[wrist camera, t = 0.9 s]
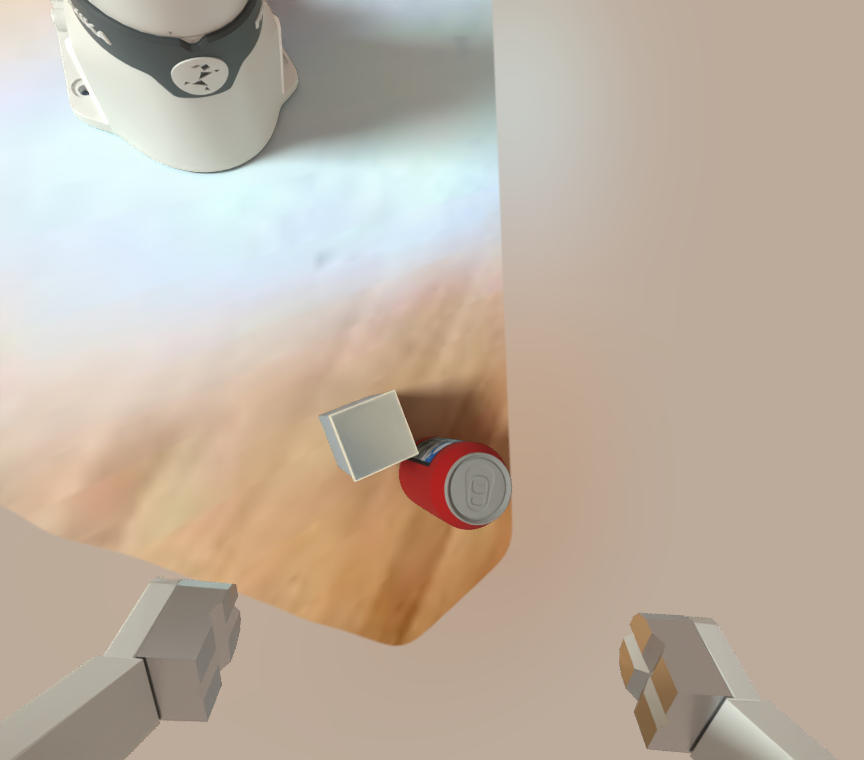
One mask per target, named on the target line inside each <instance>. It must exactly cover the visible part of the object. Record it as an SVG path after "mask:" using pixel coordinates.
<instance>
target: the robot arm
mask: <svg viewBox="0 0 864 760" xmlns="http://www.w3.org/2000/svg"><path fill="white" fill-rule="evenodd" d="M50 1H52V2H53V8H51V15H52V18H53V21H54V24H55V26H56V28H57V32H58V38H59V43H60V49H61V55H62V61H63V67H64V73H65V79H66V85H67V91H68V97H69V102H70V106H71V108H72V110H73V112H74V114H75V116H76V117H77V118H78V119H79V120H80V121H82V122H84V123H86V124H88V125H90V126H93V127H95V128H98V129H101V130H104V131H107V132H111V133H114V134H116V135H117V136H119V137H121V138H122V139H124V140H125V141H127V142H128V143H129V144H130V145H132V146H133V147H134V148H136V149H137V150H138V151H140V152H141V153H143V154H144V155H146V156H148V157H149V158H151V159H153V160H155V161H157V162H160V163H162V164H164V165H167V166H170V167H173V168H177V169H181V170H186V171H193V172H215V171H222V170H226V169H230V168H233V167H236V166H238V165H241V164H243V163H245V162H247V161H248V160H250V159H251V158H253V157H254V156H255V155H257V154H258V153H259V152H260V151H261V150H262V149H263V148H264V146H265V145H266V144H267V143H268V141H269V140H270V138H271V136H272V134H273V132H274V130H275V127H276V123H277V120H278V116H279V112H280V109H281V107H282V105H283V104H284V103H285V102H286V101H287V99H288V98H289V97H290V96H291V95H292V94H293V93H294V91H295V90H296V88H297V86H298V74H297V71H296V68H295V67H294V65H293V63H292V62H291V60H290V58H289V57H288V55H287V53H286V52H285V50H284V48H283V46H282V38H281V26H280V21H279V18H278V17H277V16H275V15H273V13H272V11H271V9H270V7H269V5H268V4H267V2H266V1H265V0H50ZM84 91H88V92H89V95H82V92H84ZM237 597H238V593H237V587H236V584H227V583H217V582H207V581H197V580H186V579H176V578H163V577H156V578H155V579H154V580H153V581H152V582H151V583H150V584H149V585H148V586H147V588H146V590H145V591H144V593H143V594H142V596H141V597H140V599H139V601H138V602H137V604H136V605H135V607H134V609H133V610H132V612H131V613H130V615H129V616H128V618H127V619H126V621H125V623H124V624H123V626H122V627H121V629H120V630H119V632H118V634H117V635H116V637H115V638H114V640H113V642H112V643H111V645H110V646H109V648H108V649H107V651H106V653H105V654H104V656H94V657H93V658H91V659H89V660H88V661H87V662H85V663H84V664H82V665H81V666H79V667H78V668H77V669H75V670H74V671H73V672H71V673H69V674H68V675H67V676H65V677H64V678H62V679H61V680H60V681H58V682H57V683H55V684H54V685H52V686H51V687H49V688H48V689H47V690H45V691H44V692H42V693H41V694H40V695H38V696H37V697H35V698H34V699H32V700H31V701H30V702H28V703H27V704H25V705H24V706H22V707H21V708H20V709H18V710H17V711H15V712H14V713H12V714H11V715H10V716H8V717H7V718H5V719H4V720H3V721H1V722H0V760H124V759H125V758H126V757H127V756H128V755H129V754H130V753H131V752H132V751H133V750H134V749H135V748H136V747H137V746H138V745H139V744H140V743H141V742H142V741H143V740H144V739H145V738H146V737H147V736H148V735H149V734H150V733H151V732H152V731H153V730H154V729H155V728H156V727H157V726H158V725H159V724H160V721H159V720H168V721H171V720H172V721H200V722H201V721H202V722H207V721H208V719H209V716H210V714H211V711H212V709H213V706H214V703H215V701H216V698H217V696H218V693H219V691H220V688H221V686H222V685H221V684H222V683H221V676H220V671H221V670H222V669H223V668H224V667H225V666H226V665H227V664H229V663H230V662H231V659H232V657H233V654H234V651H235V649H236V645H237V641H238V637H239V632H240V621H241V618H240V611H239V610H238V609H237V608H236V607H235V606H234V604H235V602H236V599H237ZM630 626H631V628H632V631H633V633H631V634H630V635H628V636H627V637H625V638H624V639H623V642H622V645H621V647H620V659H619V664H620V670H621V675H622V678H623V681H624V684H625V687H626V689H627V690H628V691H629V692H630V693H631V694H632V695H633V696H634V697H635V698H636V700H637V704H636V707H635V710H634V714H635V717H636V719H637V722H638V725H639V728H640V731H641V734H642V736H643V740H644V742H645V745H646V748H647V749H651V750H662V751H673V752H684V753H691V755H690V756H691V758H692V759H693V760H838V759H837V758H836V757H835V756H833V755H832V754H831V753H830V752H829V751H828V750H826V749H825V748H824V747H823V746H822V745H821V744H819V743H818V742H817V741H816V740H815V739H813V738H812V737H811V736H810V735H809V734H807V733H806V732H805V731H804V730H803V729H802V728H801V727H799V726H798V725H797V724H796V723H795V722H794V721H792V720H791V719H790V718H789V717H788V716H787V715H785V714H784V713H783V712H782V711H781V710H779V709H778V708H777V707H776V706H775V705H773V703H771V702H770V701H766V700H761V698H760V696H759V695H758V693H757V691H756V689H755V688H754V686H753V684H752V682H751V681H750V679H749V677H748V676H747V674H746V672H745V671H744V669H743V667H742V665H741V663H740V662H739V660H738V658H737V657H736V655H735V653H734V651H733V650H732V648H731V646H730V645H729V643H728V641H727V640H726V638H725V636H724V634H723V633H722V631H721V629H720V628H719V626H718V624H717V623H716V622H715V621H714V620H713V619H711V618H702V617H701V618H700V617H685V616H681V615H665V614H648V613H638V614H636V615H635V616H633V619H632V621H631V623H630Z"/></svg>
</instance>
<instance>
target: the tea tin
mask: <svg viewBox="0 0 864 760" xmlns="http://www.w3.org/2000/svg"><path fill="white" fill-rule="evenodd" d="M319 418H320V421H321V424H322V426H323V429H324V431H325V434H326V436H327V439H328V442H329V444H330V447H331V449H332V452H333V454H334V457H335V460H336V462H337V465H338V467H340V468H341V469H342V470H344V471H345V472H346V473H347V474H349V475H350V476H351V477H352V478H353V481H355V482H356V481H359V480H361V479H363V478H365V477H368V476H370V475H372V474H374V473H377V472H379V471H381V470H383V469H386V468H388V467H390V466H392V465H395V464H397V463H399V462H401V461H404V460H406V459H408V458H410V457H413V456H415V455H417V454H419V452H418V450H417V447H416V445H415V442H414V439H413V437H412V434H411V431H410V429H409V426H408V423H407V421H406V418H405V416H404V413H403V410H402V408H401V405H400V402H399V400H398V397H397V395H396V392H395V390H392V391H389V392H387V393H383V394H378V395H372V396H368V397H365V398H363V399H360V400H358V401H355V402H353V403H350V404H347V405H345V406H342V407H340V408H337V409H334V410H332V411H329V412H327V413H324V414H322V415H319Z"/></svg>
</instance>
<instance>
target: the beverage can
mask: <svg viewBox="0 0 864 760" xmlns="http://www.w3.org/2000/svg"><path fill="white" fill-rule="evenodd" d="M415 445H416V447H417V450H418V452H419V454H417V455H415V456H413V457H410V458H408V459H406V460H404V461H401V464H400V468H399V479H400V483H401V486H402V489H403V491H404V493H405V494H406V495H407V497H408V498H409V499H410V500H412V501H413V502H414V503H416V504H417V505H419V506H420V507H422V508H423V509H425V510H426V511H428V512H430V513H431V514H433V515H434V516H436V517H438V518H439V519H441V520H443V521H445V522H446V523H448V524H450V525H452V526H454V527H456V528H459V529H465V530H472V529H478V528H481V527H483V526H486V525H488V524H489V523H491V522H492V521H494V520H495V519H497V518H498V517H499V516H500V515H501V514H502V513H503V512H504V511H505V509H506V507H507V506H508V504H509V501H510V498H511V492H512V483H511V478H510V475H509V472H508V469H507V467H506V465H505V463H504V461H503V460H502V458H501V457H500V456H499V454H498V453H497V452H496V451H494V450H493V449H492V448H490V447H488V446H486V445H484V444H480V443H475V442H469V441H463V440H456V439H448V438H439V437H429V438H424V439H421V440H419V441H417V442H416V443H415Z"/></svg>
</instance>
